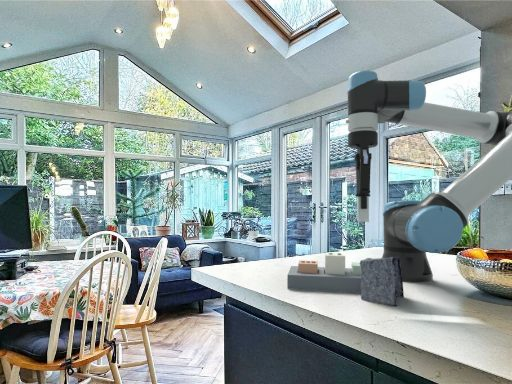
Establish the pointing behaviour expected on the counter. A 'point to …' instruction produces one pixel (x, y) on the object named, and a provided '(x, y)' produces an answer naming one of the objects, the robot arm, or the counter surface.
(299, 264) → the tile three
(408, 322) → the counter surface
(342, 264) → the tile two
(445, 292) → the counter surface
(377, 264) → the stone
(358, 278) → the key board
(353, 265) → the tile one
